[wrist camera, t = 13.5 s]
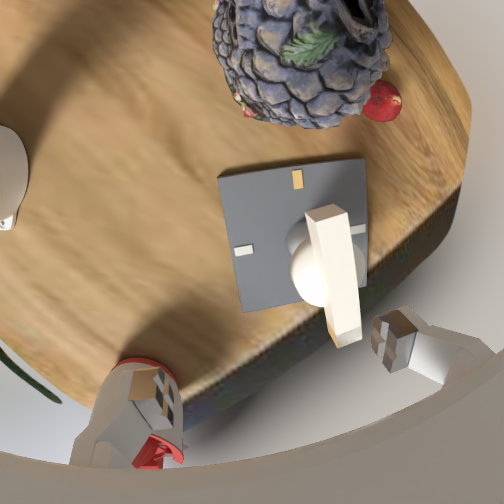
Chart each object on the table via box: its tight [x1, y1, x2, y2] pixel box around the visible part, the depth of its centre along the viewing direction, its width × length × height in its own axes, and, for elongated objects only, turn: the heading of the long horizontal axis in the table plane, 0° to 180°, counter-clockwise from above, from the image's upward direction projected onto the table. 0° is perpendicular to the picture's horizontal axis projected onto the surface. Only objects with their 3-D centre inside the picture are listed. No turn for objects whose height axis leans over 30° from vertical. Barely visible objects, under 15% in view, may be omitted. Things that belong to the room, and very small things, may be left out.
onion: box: [362, 80, 402, 122], centre depth 31 cm, size 6×6×8 cm
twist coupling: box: [290, 204, 365, 348], centre depth 30 cm, size 15×8×6 cm, turn 16°
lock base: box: [217, 158, 368, 313], centre depth 37 cm, size 20×20×10 cm
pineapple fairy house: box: [212, 0, 393, 129], centre depth 20 cm, size 21×15×25 cm
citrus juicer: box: [88, 357, 188, 469], centre depth 40 cm, size 16×17×20 cm
